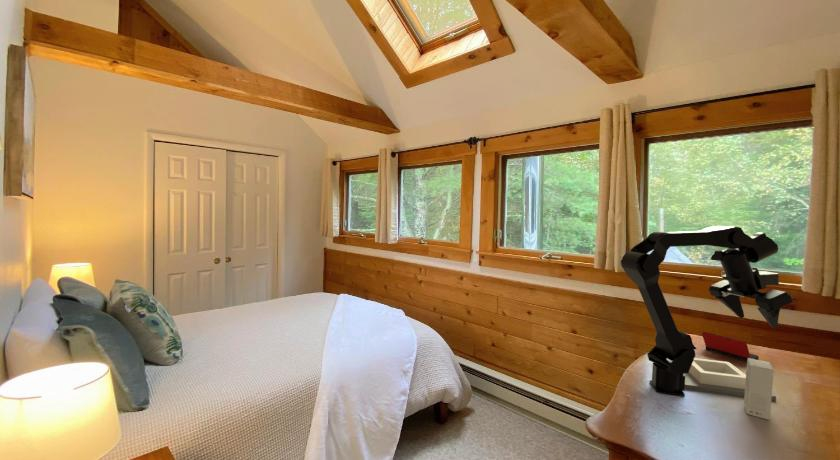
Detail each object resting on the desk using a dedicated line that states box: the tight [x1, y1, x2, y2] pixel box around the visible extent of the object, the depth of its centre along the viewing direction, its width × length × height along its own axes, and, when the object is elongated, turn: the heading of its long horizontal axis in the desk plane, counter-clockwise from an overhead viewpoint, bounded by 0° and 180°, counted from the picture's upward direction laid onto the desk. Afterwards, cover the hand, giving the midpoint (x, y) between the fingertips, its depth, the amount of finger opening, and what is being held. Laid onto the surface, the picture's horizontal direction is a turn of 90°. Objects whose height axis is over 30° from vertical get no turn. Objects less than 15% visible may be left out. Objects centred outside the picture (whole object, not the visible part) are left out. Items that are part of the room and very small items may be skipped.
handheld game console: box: [701, 331, 759, 363], centre depth 124 cm, size 12×11×7 cm
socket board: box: [683, 357, 777, 402], centre depth 104 cm, size 20×16×4 cm
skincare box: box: [743, 358, 774, 421], centre depth 88 cm, size 6×4×12 cm
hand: (757, 322), depth 99 cm, fingers open, 9 cm apart
